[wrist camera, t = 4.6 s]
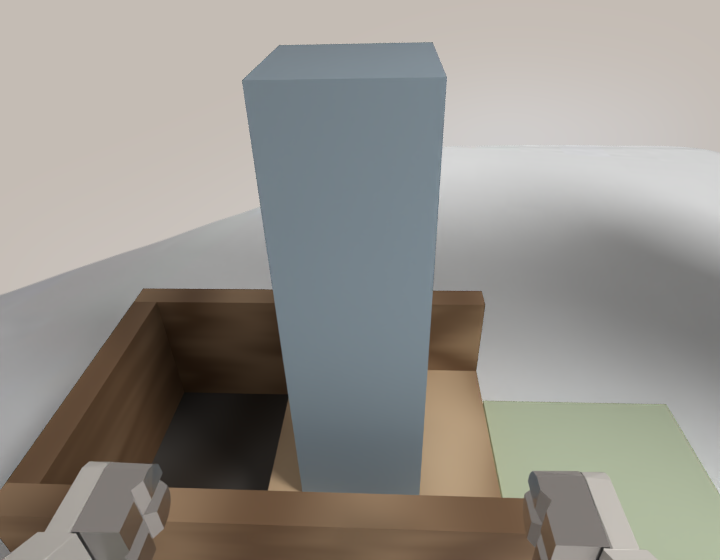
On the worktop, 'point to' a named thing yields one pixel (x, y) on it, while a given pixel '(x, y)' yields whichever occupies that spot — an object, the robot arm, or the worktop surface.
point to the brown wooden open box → (264, 442)
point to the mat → (614, 466)
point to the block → (351, 249)
